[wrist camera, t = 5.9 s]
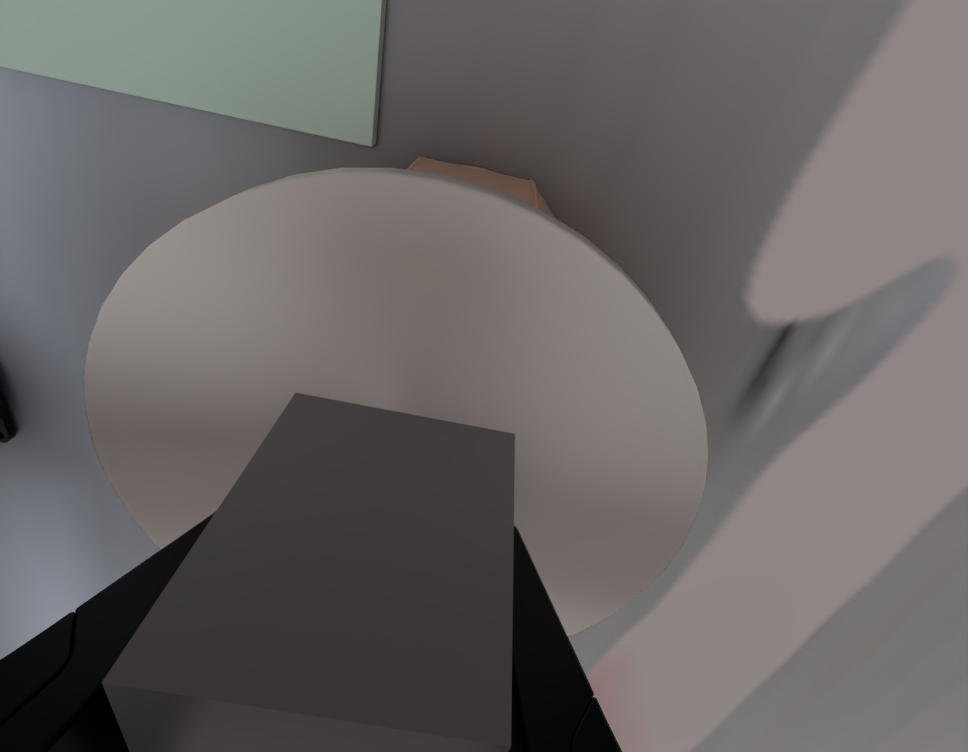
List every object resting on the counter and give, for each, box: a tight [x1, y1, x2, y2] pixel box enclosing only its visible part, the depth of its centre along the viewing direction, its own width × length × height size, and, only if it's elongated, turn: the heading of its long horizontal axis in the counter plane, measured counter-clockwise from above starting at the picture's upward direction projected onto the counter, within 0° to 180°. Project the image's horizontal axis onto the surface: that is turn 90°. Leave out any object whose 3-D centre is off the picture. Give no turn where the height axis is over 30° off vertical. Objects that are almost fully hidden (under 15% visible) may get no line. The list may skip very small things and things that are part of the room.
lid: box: [84, 168, 708, 752], centre depth 9 cm, size 12×12×6 cm
